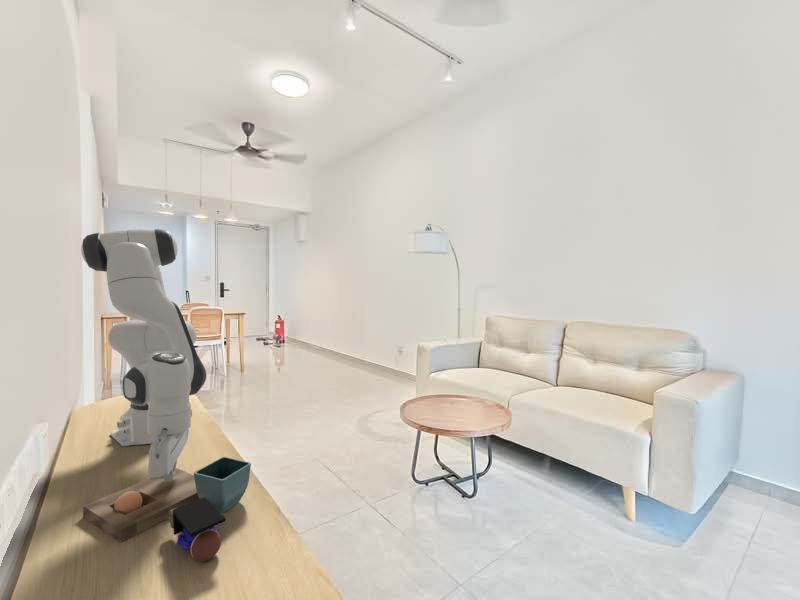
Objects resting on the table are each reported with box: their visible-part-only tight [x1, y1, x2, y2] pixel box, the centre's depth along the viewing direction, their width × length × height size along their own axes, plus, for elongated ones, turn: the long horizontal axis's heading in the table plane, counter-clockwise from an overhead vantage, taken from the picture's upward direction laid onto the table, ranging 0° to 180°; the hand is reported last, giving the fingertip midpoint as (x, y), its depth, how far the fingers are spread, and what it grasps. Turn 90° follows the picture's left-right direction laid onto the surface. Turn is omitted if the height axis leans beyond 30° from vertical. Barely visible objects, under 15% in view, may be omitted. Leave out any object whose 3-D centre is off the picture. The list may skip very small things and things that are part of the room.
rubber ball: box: [114, 491, 143, 515], centre depth 82 cm, size 5×5×5 cm
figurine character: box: [168, 497, 227, 562], centre depth 73 cm, size 7×8×15 cm
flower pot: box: [193, 456, 252, 514], centre depth 86 cm, size 9×9×9 cm
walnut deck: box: [82, 467, 199, 543], centre depth 86 cm, size 16×20×2 cm
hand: (169, 478), depth 89 cm, fingers closed
